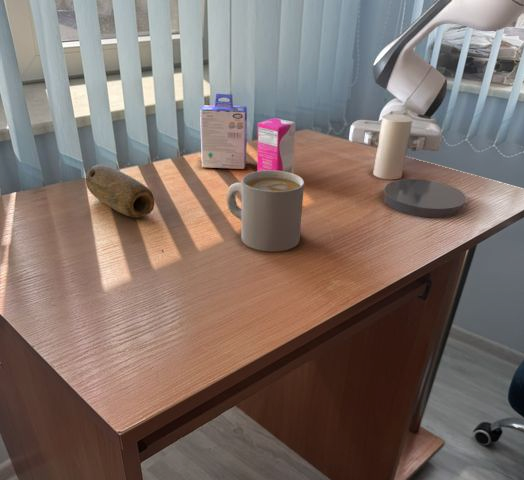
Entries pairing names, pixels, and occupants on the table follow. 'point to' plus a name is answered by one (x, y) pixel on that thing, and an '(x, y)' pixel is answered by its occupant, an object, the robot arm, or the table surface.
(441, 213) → the slate plate
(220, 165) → the ink cartridge box
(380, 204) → the table surface
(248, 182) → the coffee mug
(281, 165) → the supplement box
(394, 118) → the cream canister
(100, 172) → the stone weight
